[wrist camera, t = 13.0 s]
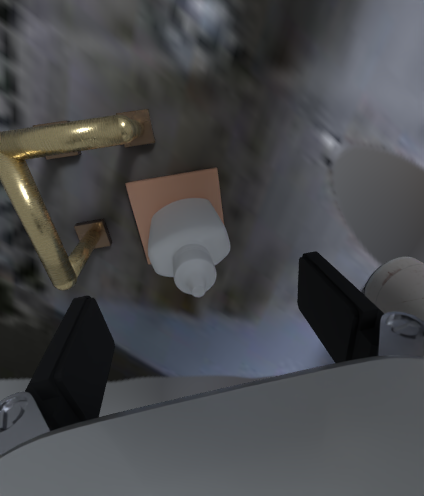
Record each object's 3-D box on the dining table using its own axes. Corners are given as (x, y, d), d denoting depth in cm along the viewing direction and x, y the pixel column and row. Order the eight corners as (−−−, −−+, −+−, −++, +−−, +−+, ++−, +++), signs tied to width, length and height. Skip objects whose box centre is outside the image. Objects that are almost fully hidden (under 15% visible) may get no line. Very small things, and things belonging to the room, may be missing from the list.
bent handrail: (37, 125, 19) (-48, 124, 12) (148, 109, 20) (137, 98, 12) (86, 247, 24) (48, 304, 16) (174, 230, 25) (179, 277, 17)
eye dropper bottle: (207, 242, 25) (237, 328, 14) (149, 233, 24) (136, 321, 13) (217, 200, 24) (262, 261, 13) (156, 187, 22) (148, 245, 11)
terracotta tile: (126, 182, 22) (125, 183, 22) (216, 167, 23) (217, 168, 22) (148, 261, 26) (148, 264, 25) (225, 246, 26) (227, 248, 26)
